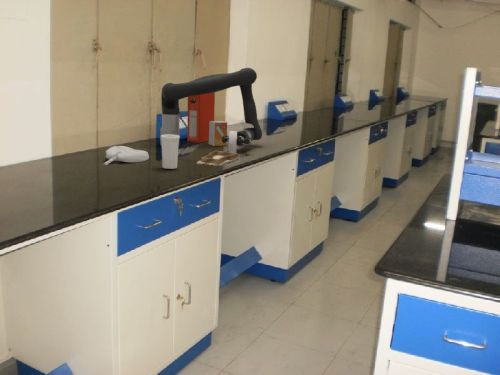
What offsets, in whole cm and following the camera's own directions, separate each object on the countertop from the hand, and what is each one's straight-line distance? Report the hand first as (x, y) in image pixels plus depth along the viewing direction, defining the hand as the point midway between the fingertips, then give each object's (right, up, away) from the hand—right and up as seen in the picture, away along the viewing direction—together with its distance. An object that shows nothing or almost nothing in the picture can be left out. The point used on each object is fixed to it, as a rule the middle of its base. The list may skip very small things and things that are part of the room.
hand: (231, 141), depth 275 cm
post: (0, -6, +3) cm, 7 cm away
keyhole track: (-6, -10, -14) cm, 19 cm away
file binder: (-19, +4, +43) cm, 47 cm away
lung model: (-49, -11, -24) cm, 56 cm away
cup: (-26, -15, -34) cm, 45 cm away
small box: (-9, +1, +31) cm, 32 cm away
